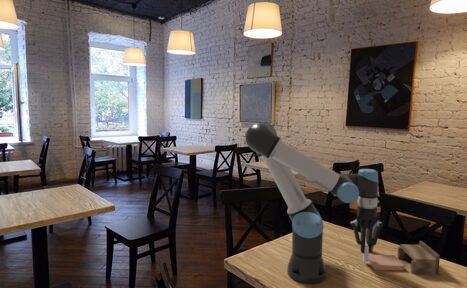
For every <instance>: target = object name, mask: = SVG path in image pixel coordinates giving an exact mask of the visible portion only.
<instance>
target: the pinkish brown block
mask: <svg viewBox="0 0 467 288" xmlns="http://www.w3.org/2000/svg"><path fill="white" fill-rule="evenodd" d="M367 263H369V264H370V266H371V267H372V269H373V270H374V271H375V270H378V271H379V270H382V271H405V268H406V267H405V264H403V262H402V261H401V259H398V258H397V256H396V255H393V254H369V255H368V262H367Z"/></svg>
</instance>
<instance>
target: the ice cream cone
mask: <svg viewBox="0 0 467 288" xmlns="http://www.w3.org/2000/svg"><path fill="white" fill-rule="evenodd" d="M375 227H376V224H375V225H374V226H373V231H372V236H373V233H374V230H375ZM365 243H367V228H366V236H365ZM374 247H375V245H372V247H371V253H372V252H373V251H374Z"/></svg>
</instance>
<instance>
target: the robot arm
mask: <svg viewBox="0 0 467 288" xmlns="http://www.w3.org/2000/svg"><path fill="white" fill-rule="evenodd" d="M244 137H245V138H244V139H245V142H246V145H247V147H248V148H249V149H251V150H252V151H253V152H255V153H256V155H257V158H258V159H262V160H263V161H264V164H265V165H266V167H267V168H268V171H269V172H270V175H271V177H272V178H273V181H274V183H275V184H276V186H277V188H278V190H279V192H280V193H281V195H282V197H283V200H284V201H285V203H286V205H287V210H286V211H287V214H288V217H289V218H290V220H291V222H292V223H291V228H292V234H291V235H292V241H291V242H292V243H291V245H292V246H291V249H292V250H291V251H292V252H291V255H290V258H289V261H288V262H287V263H288V264H287V266H286V267H287V268H286V269H287V274H289V275H288V277H290V278H291V277H292V278H291V279H292V280H294V279H295V281H296V280H297V282H299V281H300V282H299V283H302V282H304V284H318V283H321V282H323V281H325V280H326V278H327V268H326V265H325V262H324V258H323V236H324V235H323V234H324V233H323V232H324V231H323V230H324V221H323V218H322V217H321V215H320V211H318V209H317V208H315V205H314V203H313V201H312V199H308V198H307V197H306V196H305V193H304V192H303V190H302V188H301V186H300V184H299V183H298V180H297V179H296V177H295V175H294V172H295V173H297V174H298V175H300V176H302V177H304V178H306V179H308V180H309V181H311V182H312V183H314V184H315V185H317V186H320V187H321V188H323V189H325V190H327V191H328V192H330V193H331V194H333V195H335V196H336V197H337V198H338V199H339V200H340V201H341V202H343V203H345V204H351V203H354V202H355V201H357V209H356V210H357V213H356V218H355V219H354V220H351V221H350V222H349V223H350V225H351V226H352V229H353V235H354V237H355V242H356V244H357V245H358V246H359V245H360V252H361V254H362V260H363V262H366V263H369V262H368V255H370V254H372V252H371V247H372V245H374V246H376V245H377V242H378V238H379V235H380V232H381V229H382V228H383V227H384V223H382V221H380V220H378V217H377V216H378V208H377V207H378V195H379V194H378V192H379V172H378V170H376V169H371V168H361V169H359V170H358V173H338V172H335V171H334V170H332V169H330V168H328V167H327V166H325V165H324V164H321V163H320V162H318V161H316V160H315V159H313V158H311V157H310V156H308V155H306V154H304V153H302V152H301V151H299V150H297V149H296V148H294V147H292V146H290V145H288V144H287V143H285V142H284V141H283V140H282V138H281V137H280V136H278V134H277V130H276V128H275V127H274V126H273V125H272V124H271V123H269V122H265V121H264V122H263V121H262V122H257V123H254V124H252V125H251V126H249V128H248V129H247V130H246V133H245V136H244ZM293 171H294V172H293ZM375 224H376V227H375V230H374V233H373V236H372V231H373V226H374V225H375ZM358 225H359V226H360V233H359V228H358ZM366 228H367V242H366V237H365V236H366Z"/></svg>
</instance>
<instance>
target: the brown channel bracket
mask: <svg viewBox="0 0 467 288" xmlns="http://www.w3.org/2000/svg"><path fill="white" fill-rule="evenodd" d="M396 257H397V258H398V259H399V260H411V262H410V263H411V264H410V273H411V274H413V275H414V274H415V275H435V276H437V275H438V276H439V274H440V273H439V272H440V261H441V260H440V258H441V255H440V254H439V253H438V252H436V251H435V250H434V249H433V248H431V247H430V246H429V245H428V244H427V243H425V242H424V241H423V240H419V241H418V244H405V243H404V244H403V243H402V244H401V243H400V245H399V246H397V256H396Z"/></svg>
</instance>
